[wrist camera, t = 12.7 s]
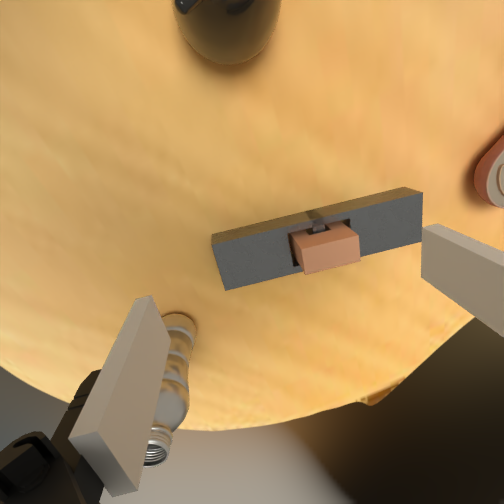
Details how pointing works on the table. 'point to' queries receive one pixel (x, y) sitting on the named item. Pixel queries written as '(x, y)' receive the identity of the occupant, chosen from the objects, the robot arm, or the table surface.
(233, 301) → the table surface
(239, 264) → the rail
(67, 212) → the table surface
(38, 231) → the table surface
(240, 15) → the pump dispenser
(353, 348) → the table surface
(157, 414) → the plastic bottle
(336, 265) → the clip
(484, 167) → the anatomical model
